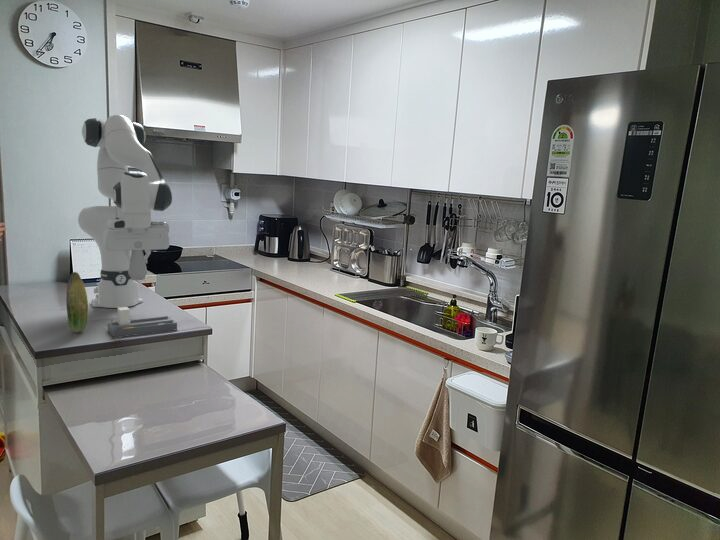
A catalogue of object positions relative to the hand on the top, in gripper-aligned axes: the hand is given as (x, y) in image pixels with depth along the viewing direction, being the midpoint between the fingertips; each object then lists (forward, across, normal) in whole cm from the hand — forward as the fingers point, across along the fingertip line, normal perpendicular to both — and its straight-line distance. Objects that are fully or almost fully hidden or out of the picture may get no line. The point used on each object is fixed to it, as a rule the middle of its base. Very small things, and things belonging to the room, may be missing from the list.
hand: (137, 263), depth 177 cm
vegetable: (+23, +18, -5) cm, 29 cm away
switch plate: (+23, -1, +1) cm, 23 cm away
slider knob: (+20, +5, +1) cm, 21 cm away
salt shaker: (+5, 0, 0) cm, 5 cm away
